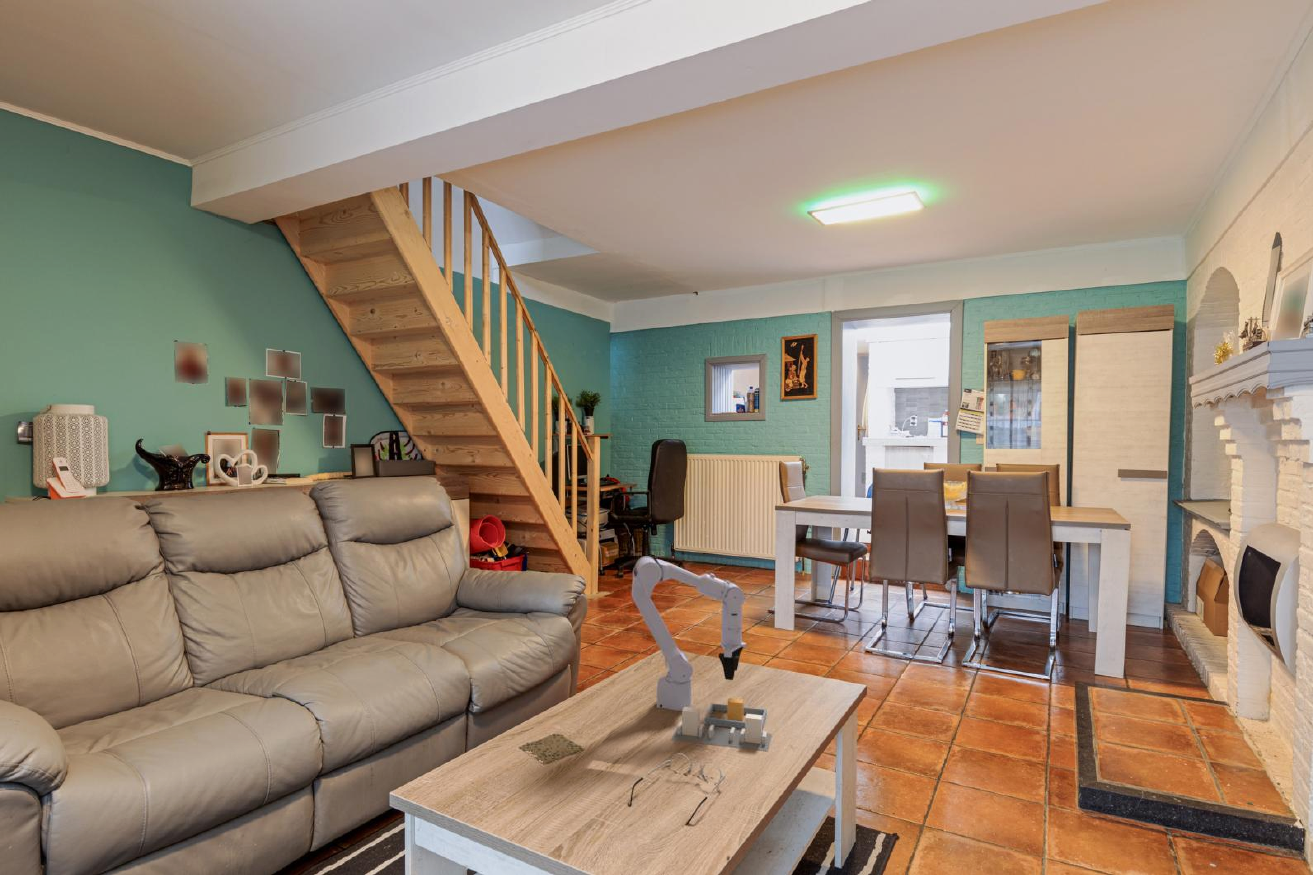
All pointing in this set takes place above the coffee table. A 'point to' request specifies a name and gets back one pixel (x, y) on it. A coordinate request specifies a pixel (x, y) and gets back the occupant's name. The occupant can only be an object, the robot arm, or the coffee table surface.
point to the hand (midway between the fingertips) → (731, 674)
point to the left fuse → (690, 721)
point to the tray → (731, 722)
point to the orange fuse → (735, 709)
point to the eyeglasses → (685, 775)
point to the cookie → (552, 748)
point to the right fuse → (753, 728)
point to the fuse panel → (722, 737)
